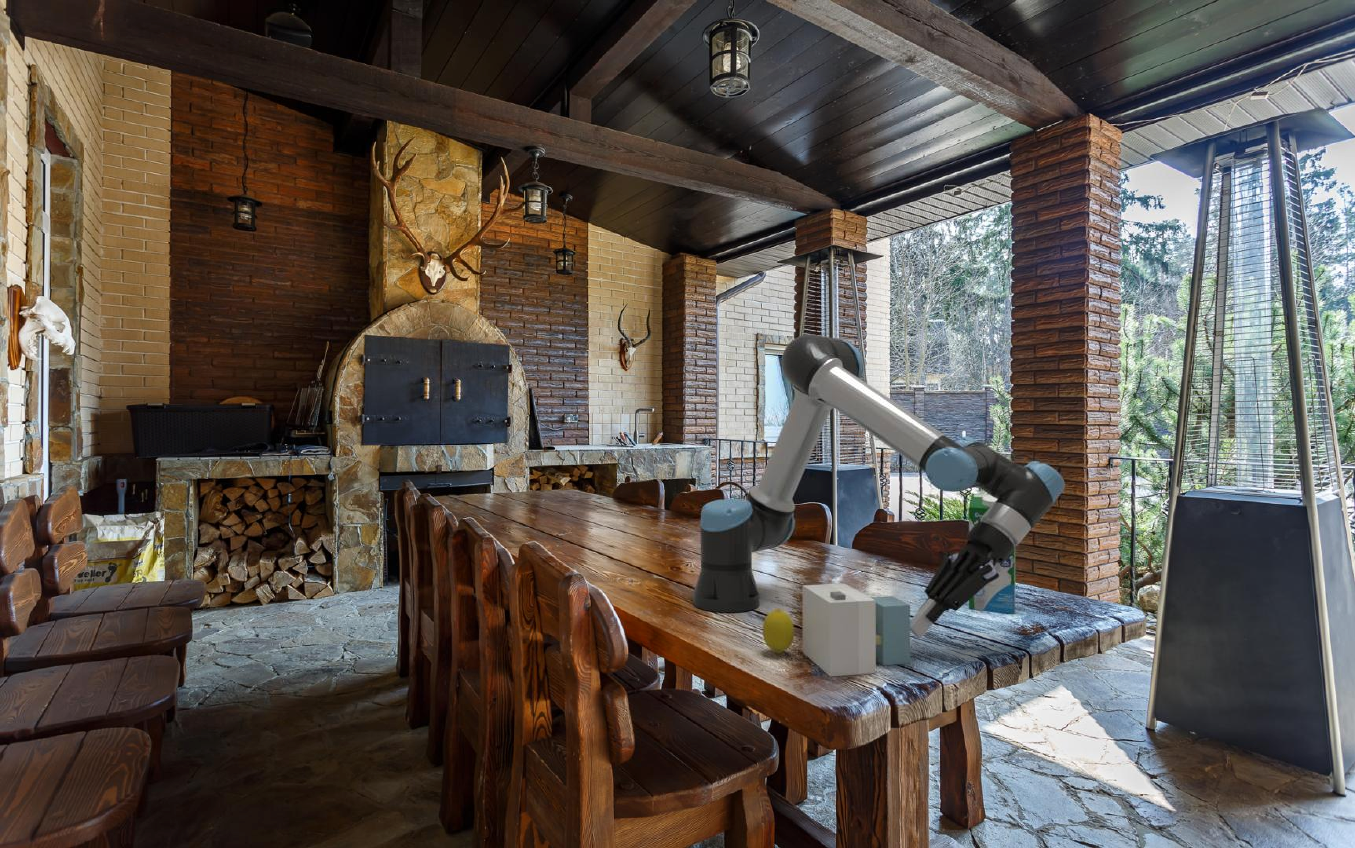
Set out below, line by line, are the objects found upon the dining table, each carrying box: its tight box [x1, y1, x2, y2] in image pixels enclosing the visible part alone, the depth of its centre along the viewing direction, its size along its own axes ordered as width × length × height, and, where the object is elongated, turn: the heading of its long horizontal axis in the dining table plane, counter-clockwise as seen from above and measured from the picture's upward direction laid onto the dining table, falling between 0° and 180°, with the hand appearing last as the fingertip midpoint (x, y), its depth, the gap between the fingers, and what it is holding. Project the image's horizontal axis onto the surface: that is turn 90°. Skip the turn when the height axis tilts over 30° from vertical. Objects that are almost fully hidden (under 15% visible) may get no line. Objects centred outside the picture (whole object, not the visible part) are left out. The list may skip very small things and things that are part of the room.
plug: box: [869, 595, 911, 666], centre depth 117 cm, size 6×8×10 cm
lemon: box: [762, 608, 795, 655], centre depth 120 cm, size 6×6×8 cm
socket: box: [802, 583, 877, 678], centre depth 116 cm, size 12×8×13 cm, turn 11°
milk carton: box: [968, 492, 1016, 615], centre depth 151 cm, size 9×9×25 cm
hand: (913, 631), depth 118 cm, fingers closed
